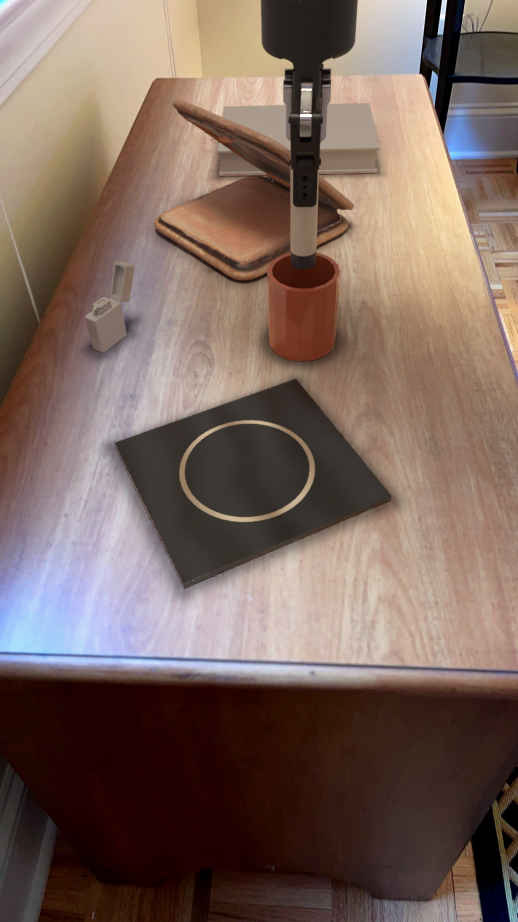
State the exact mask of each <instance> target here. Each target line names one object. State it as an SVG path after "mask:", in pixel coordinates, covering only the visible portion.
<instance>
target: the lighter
mask: <svg viewBox="0 0 518 922" xmlns="http://www.w3.org/2000/svg"><path fill="white" fill-rule="evenodd" d="M134 272H135V265H134V264H132V263H129V262H127V261H124V260H122V261H119V260H117V261H115V262H113V270H112V276H111V277H112V279H111V285H110V293H109V298H108V297H106V296H102V297H101V298H99V299H98V300H96V301H95V302H93V303H92V310H91V311H90V312H88V313H87V314H86V315H84V319H85V323H86V327H87V331H88V335H89V338H90V343H91V346H92V349H93V350H95V351H97V352H99V353H101V354H104V353H106V352H107V351H108V350H110V349H111V348H112V347H114V346H115V345H116V344H118V343H119V342H120V341H121V340H123V339H124V338H125V337H126V336H127V335H128V332H127V328H126V324H125V318H124V313H123V309H122V304H121V303H127V302H131V301H130V300H131V294H132V293H131V292H132V287H133V279H134Z"/></svg>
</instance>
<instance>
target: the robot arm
mask: <svg viewBox="0 0 518 922" xmlns="http://www.w3.org/2000/svg"><path fill="white" fill-rule="evenodd" d="M358 3H359V0H260V23H261V24H260V27H261V28H260V29H261V33H260V34H261V35H260V36H261V45H262V46H261V47H262V48H263V50H264V52H265V53H267V54H268V55H269V56H271V57H273V58H275V59H278V60H286V61H288V62H289V63H291V64H292V66H293V68H284V79H283V81H282V98H283V99H282V101H283V103H284V105H286V137H287V139H288V140H289V141H291V157H290V159H289V165H291V170H293V205H294V206H296V207H314V206H315V205H316V203H317V179H318V170H319V165H321V157H320V143H321V141H323V140H324V139H325V137H326V125H327V105H328V104H330V102H331V99H332V98H331V96H332V95H331V94H332V68H331V67H324V65H325V63H324V62H326V61H328V60H330V59H333V60H335V59H338V58H339V59H340V58H341V57H343V56H345V55H346V54H349V52H351V51H352V49H353V48H354V46H355V42H356V37H357V35H356V33H357V17H358V5H359V4H358ZM298 152H313V153H298ZM297 153H298V154H297Z"/></svg>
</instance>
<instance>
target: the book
mask: <svg viewBox="0 0 518 922" xmlns="http://www.w3.org/2000/svg"><path fill="white" fill-rule="evenodd" d="M221 117H223V118H226V119H228V120H230V121H233V122H235V123H238V124H241V125H243V126H245V127H247V128H250V129H252V130H254V131H256V132H259V133H261V134H263V135H266V136H268V137H270V138H272V139H274V140H276V141H277V142H279V143H280V144H282V145H283V146H285V147H286V148H287V149H289V150H290V151H291V141H289V140H288V139H287V137H286V105H285V104H271V105H270V104H269V105H234V106H233V105H231V106H230V105H229V106H227V105H226V106H223V110H222V116H221ZM377 151H380V144H379V139H378V135H377V131H376V126H375V120H374V117H373V113H372V108H371V103H369V102H358V103H357V102H356V103H355V102H354V103H329V104H328V105H327V125H326V137H325V139H324V140H323V141H321V143H320V157H321V165H319V175H336V174H337V175H341V174H342V175H343V174H345V175H346V174H377V173H378V166H377V162H376V159H377V158H376V157H377ZM219 154H220V163H219V172H218V176H219V177H236V176H239V177H240V176H241V177H242V176H246V177H248V176H268V175H267V174H266V173H265V172H263V171H261V170H260V169H258V168H256V167H255V166H253V165H251V164H250V163H248V162H247V161H246V160H244V159H243V158H241V157H240V156H238V155H237V154H235V153H234V152H232V151H231V150H230V149H228V148H227V147H225V146H224V145H222V144H221V143H219V142H218V144H217V155H219Z"/></svg>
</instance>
